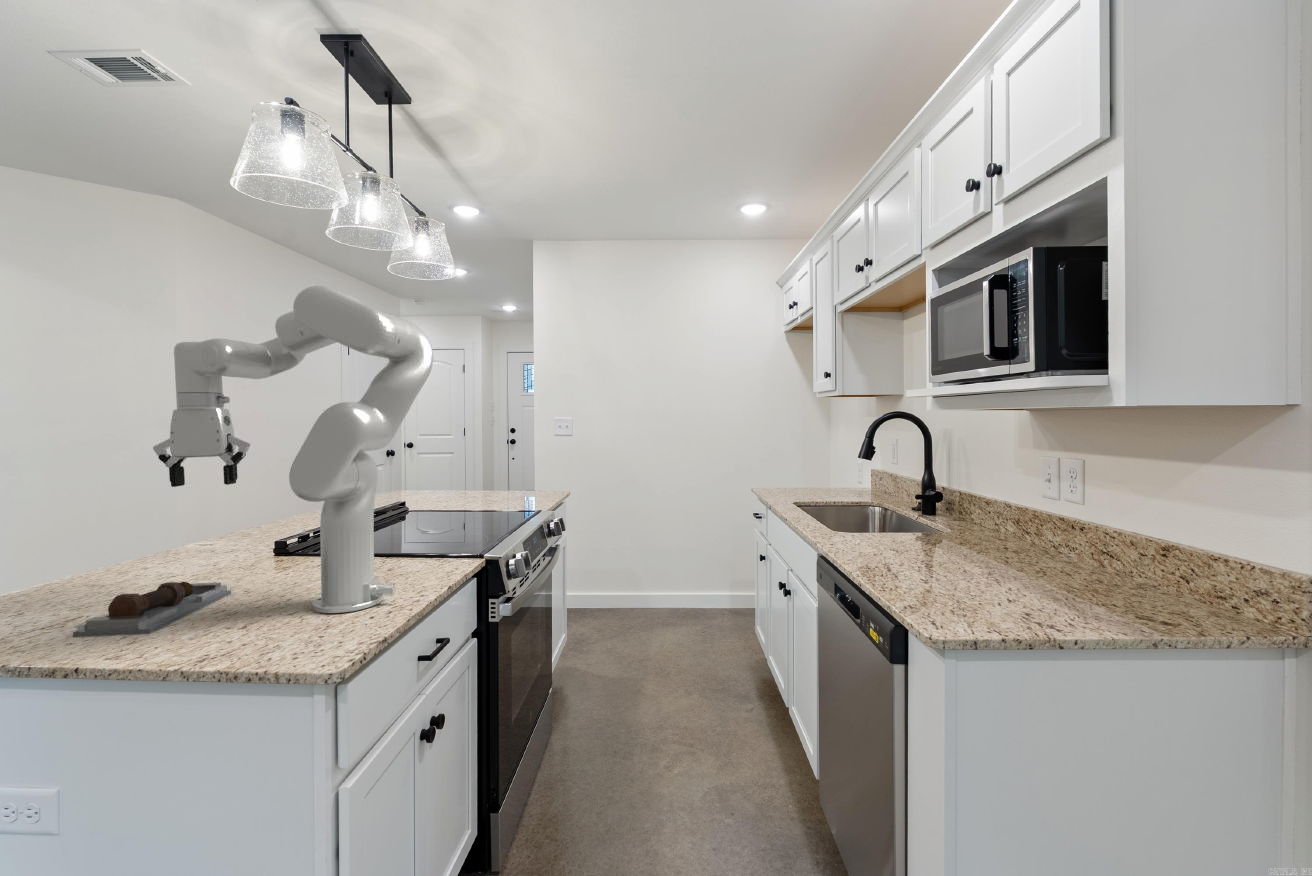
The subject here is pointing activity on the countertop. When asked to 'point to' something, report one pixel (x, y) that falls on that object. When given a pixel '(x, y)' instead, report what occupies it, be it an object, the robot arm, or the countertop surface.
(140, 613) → the bolt
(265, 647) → the countertop surface
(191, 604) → the grey stepped tray
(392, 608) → the countertop surface
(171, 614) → the grey shallow tray
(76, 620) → the countertop surface
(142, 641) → the countertop surface
